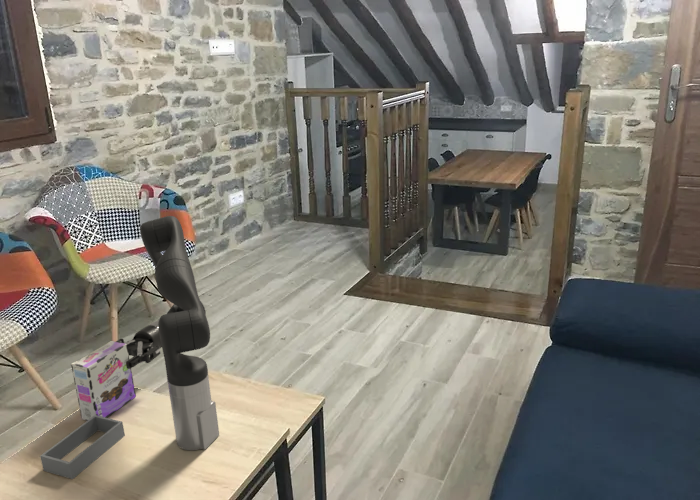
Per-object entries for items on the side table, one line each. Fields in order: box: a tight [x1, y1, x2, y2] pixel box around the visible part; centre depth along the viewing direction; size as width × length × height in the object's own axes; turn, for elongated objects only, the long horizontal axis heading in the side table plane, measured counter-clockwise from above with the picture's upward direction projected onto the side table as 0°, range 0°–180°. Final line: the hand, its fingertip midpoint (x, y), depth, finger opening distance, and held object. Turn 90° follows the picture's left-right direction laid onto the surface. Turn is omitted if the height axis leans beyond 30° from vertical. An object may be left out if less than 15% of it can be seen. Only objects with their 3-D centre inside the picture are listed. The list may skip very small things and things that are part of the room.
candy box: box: [70, 340, 137, 422], centre depth 155 cm, size 14×6×16 cm, turn 156°
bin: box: [39, 415, 125, 480], centre depth 140 cm, size 9×17×4 cm, turn 158°
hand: (114, 363), depth 158 cm, fingers open, 8 cm apart
